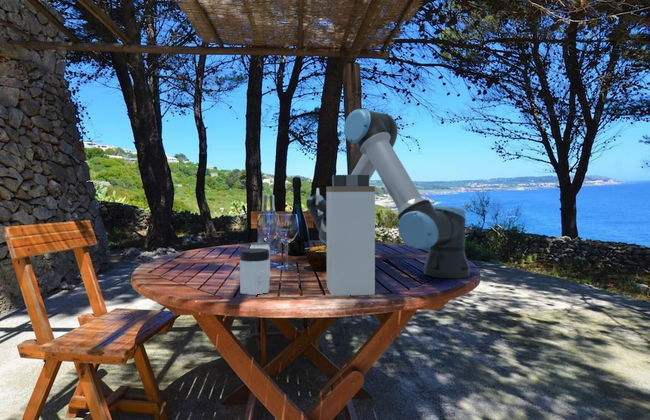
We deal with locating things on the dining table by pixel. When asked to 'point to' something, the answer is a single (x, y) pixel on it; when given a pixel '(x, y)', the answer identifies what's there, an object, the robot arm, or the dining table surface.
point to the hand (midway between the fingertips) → (338, 191)
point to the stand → (350, 240)
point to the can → (264, 246)
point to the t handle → (350, 180)
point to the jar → (254, 271)
